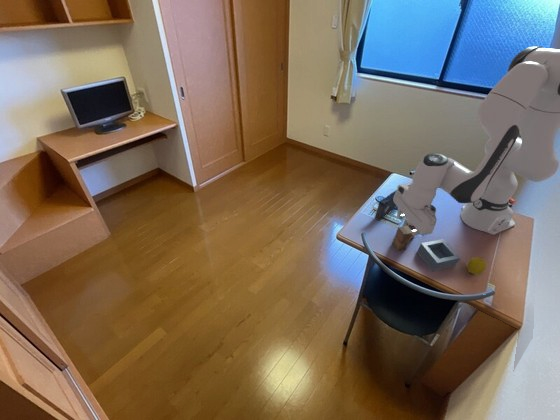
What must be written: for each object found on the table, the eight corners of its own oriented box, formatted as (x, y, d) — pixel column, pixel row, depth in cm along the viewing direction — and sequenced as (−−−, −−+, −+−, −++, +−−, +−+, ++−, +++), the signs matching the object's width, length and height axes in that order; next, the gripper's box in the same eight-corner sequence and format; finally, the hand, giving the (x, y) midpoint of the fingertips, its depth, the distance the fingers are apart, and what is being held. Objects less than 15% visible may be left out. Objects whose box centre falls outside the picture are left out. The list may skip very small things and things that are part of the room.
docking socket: (438, 247, 117) (443, 238, 114) (455, 266, 110) (460, 257, 106) (417, 251, 115) (421, 243, 112) (432, 271, 108) (437, 262, 105)
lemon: (462, 264, 110) (472, 251, 105) (478, 269, 109) (489, 255, 103) (463, 275, 106) (473, 262, 101) (480, 280, 105) (491, 267, 99)
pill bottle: (418, 235, 122) (427, 215, 115) (408, 240, 120) (417, 221, 112) (406, 226, 126) (414, 207, 119) (397, 232, 123) (404, 212, 116)
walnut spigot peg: (400, 242, 119) (407, 225, 112) (405, 249, 116) (413, 232, 109) (391, 244, 118) (398, 227, 112) (396, 251, 115) (404, 234, 109)
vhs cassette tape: (396, 201, 139) (402, 185, 133) (401, 204, 138) (408, 188, 131) (373, 217, 131) (378, 200, 124) (378, 221, 129) (384, 204, 122)
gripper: (446, 215, 93) (430, 244, 102) (410, 180, 108) (399, 208, 117) (429, 218, 92) (415, 247, 101) (395, 182, 107) (385, 210, 116)
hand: (406, 225), depth 109 cm, fingers open, 8 cm apart
